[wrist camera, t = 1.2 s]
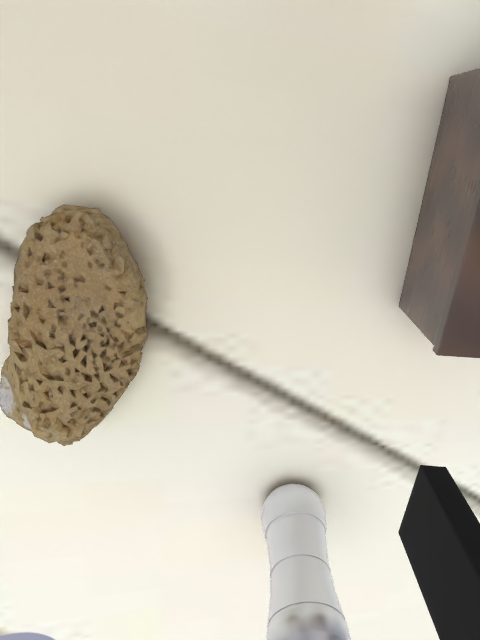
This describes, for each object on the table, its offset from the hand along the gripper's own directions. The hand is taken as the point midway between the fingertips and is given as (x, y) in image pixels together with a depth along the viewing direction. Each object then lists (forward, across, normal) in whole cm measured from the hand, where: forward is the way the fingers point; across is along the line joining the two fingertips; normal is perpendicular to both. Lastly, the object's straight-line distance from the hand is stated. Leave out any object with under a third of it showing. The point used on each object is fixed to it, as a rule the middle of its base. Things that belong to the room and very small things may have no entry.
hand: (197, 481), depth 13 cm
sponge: (+26, -12, -7) cm, 30 cm away
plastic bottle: (+26, +9, -26) cm, 38 cm away
